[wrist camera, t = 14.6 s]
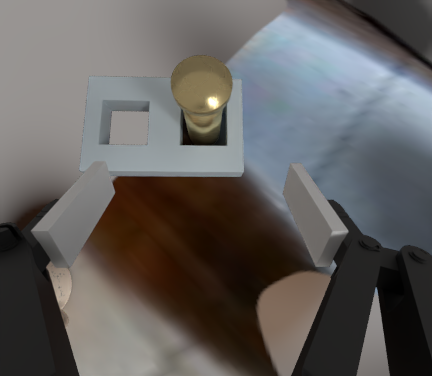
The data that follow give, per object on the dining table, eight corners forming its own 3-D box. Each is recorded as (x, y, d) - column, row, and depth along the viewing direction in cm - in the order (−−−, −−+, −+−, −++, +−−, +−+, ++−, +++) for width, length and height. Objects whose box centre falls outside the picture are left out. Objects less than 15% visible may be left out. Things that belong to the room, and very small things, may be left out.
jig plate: (238, 91, 35) (241, 79, 32) (240, 176, 33) (243, 172, 30) (99, 88, 34) (89, 75, 31) (91, 175, 32) (79, 170, 29)
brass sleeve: (223, 114, 34) (232, 55, 22) (224, 151, 33) (233, 111, 21) (184, 113, 34) (171, 54, 22) (183, 151, 33) (169, 110, 21)
